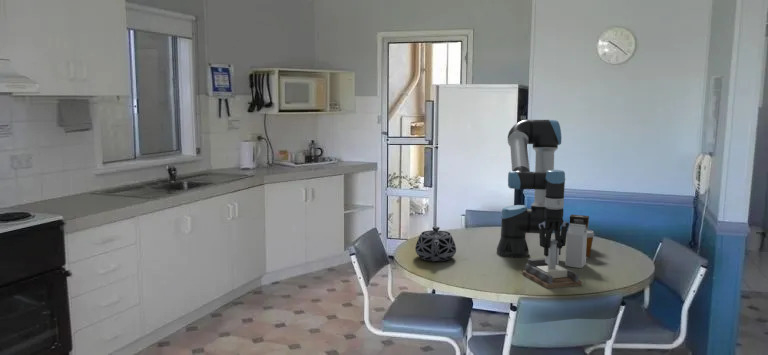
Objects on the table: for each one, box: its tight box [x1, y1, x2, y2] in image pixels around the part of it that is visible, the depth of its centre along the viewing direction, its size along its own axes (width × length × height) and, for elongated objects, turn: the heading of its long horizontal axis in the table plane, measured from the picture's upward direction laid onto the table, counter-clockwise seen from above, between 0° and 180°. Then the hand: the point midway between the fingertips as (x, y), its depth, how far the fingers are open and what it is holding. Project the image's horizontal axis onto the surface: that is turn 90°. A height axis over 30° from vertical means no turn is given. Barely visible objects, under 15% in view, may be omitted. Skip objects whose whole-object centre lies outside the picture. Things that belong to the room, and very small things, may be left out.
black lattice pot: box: [414, 226, 457, 262], centre depth 294 cm, size 19×31×15 cm, turn 177°
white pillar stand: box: [536, 238, 567, 278], centre depth 261 cm, size 8×10×15 cm
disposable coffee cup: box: [586, 229, 595, 258], centre depth 299 cm, size 10×10×12 cm
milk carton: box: [565, 222, 587, 269], centre depth 282 cm, size 7×7×19 cm
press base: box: [521, 257, 583, 289], centre depth 261 cm, size 20×16×6 cm
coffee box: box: [569, 214, 590, 230], centre depth 315 cm, size 9×6×16 cm
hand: (551, 263), depth 261 cm, fingers closed on white pillar stand, 3 cm apart
